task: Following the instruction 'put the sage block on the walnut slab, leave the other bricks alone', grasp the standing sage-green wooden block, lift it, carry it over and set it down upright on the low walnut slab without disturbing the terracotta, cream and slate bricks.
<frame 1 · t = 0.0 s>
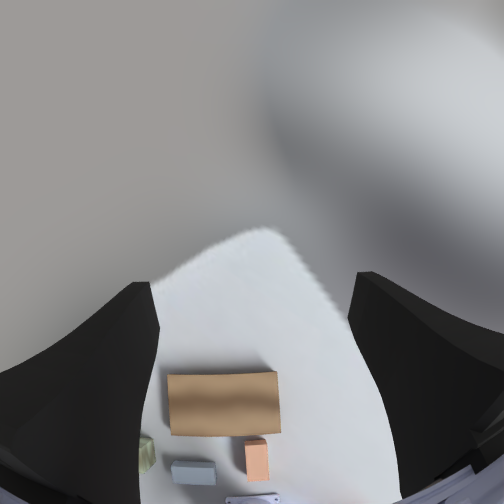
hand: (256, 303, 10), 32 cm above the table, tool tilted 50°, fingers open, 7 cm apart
sage block: (142, 448, 32), on the table
walnut slab: (224, 403, 36), on the table
slate brick: (195, 469, 32), on the table
terracotta brick: (256, 457, 33), on the table
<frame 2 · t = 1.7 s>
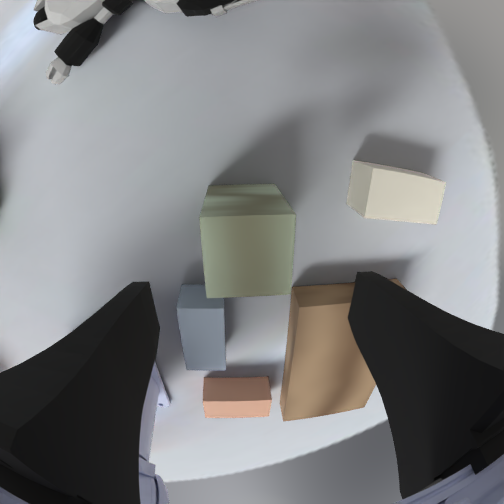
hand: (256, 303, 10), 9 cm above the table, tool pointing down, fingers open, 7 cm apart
sage block: (242, 215, 18), on the table
walnut slab: (333, 351, 24), on the table
slate brick: (205, 316, 21), on the table
cream brick: (385, 186, 18), on the table
terracotta brick: (235, 385, 25), on the table
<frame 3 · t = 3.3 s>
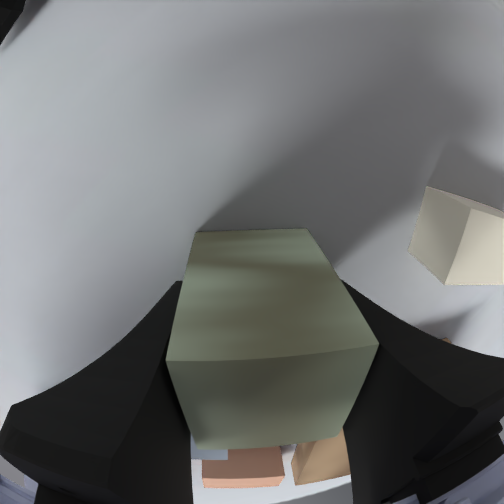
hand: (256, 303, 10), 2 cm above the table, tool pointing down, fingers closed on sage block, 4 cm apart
sage block: (252, 278, 11), on the table, touching gripper
walnut slab: (359, 418, 17), on the table
slate brick: (199, 396, 15), on the table
cream brick: (457, 226, 11), on the table
terracotta brick: (240, 452, 19), on the table
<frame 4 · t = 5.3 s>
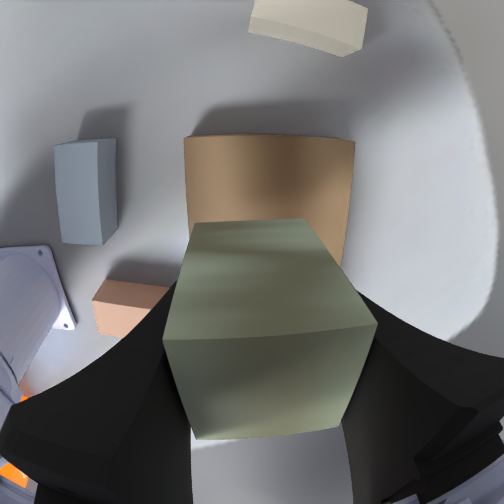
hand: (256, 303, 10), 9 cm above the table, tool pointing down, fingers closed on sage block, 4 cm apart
sage block: (250, 269, 11), point 7 cm above the table, touching gripper
walnut slab: (264, 249, 19), on the table
orange juice: (23, 404, 28), on the table
slate brick: (97, 183, 16), on the table
cream brick: (300, 24, 13), on the table
terracotta brick: (143, 299, 20), on the table
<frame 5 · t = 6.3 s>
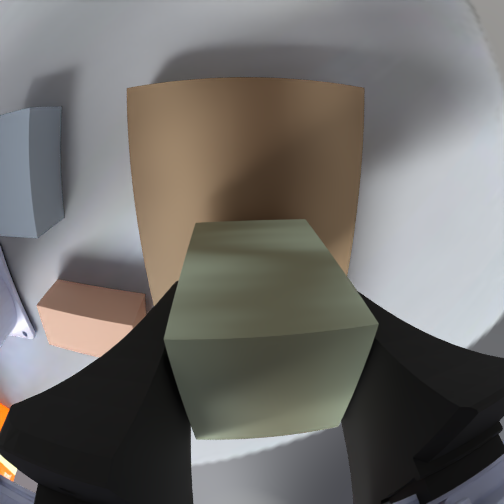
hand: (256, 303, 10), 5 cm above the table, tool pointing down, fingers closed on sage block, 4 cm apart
sage block: (251, 269, 11), point 3 cm above the table, touching gripper
walnut slab: (246, 240, 14), on the table
orange juice: (4, 413, 23), on the table
slate brick: (41, 164, 11), on the table
terracotta brick: (102, 304, 16), on the table
when the fingers open (5 cm above the table, at t = 7.1 s): sage block stays where it is, resting on walnut slab.
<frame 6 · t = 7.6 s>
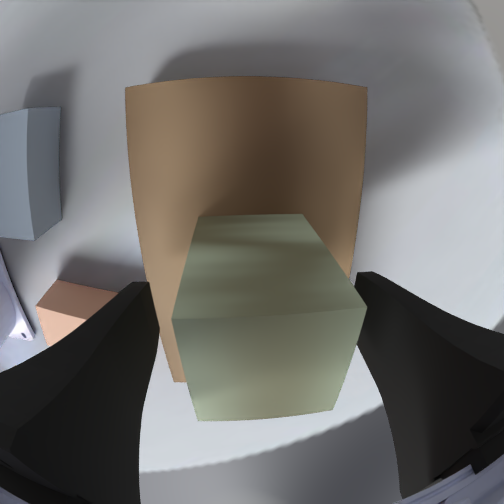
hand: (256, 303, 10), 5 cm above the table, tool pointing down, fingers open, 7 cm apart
sage block: (251, 261, 12), point 2 cm above the table, touching walnut slab
walnut slab: (246, 242, 14), on the table
slate brick: (40, 164, 11), on the table
terracotta brick: (101, 306, 15), on the table
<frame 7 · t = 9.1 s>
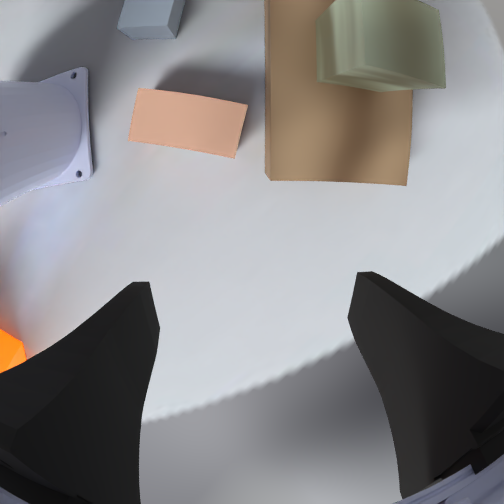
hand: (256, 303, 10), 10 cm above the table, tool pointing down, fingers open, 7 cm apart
sage block: (349, 55, 12), point 2 cm above the table, touching walnut slab
walnut slab: (334, 65, 15), on the table
orange juice: (6, 350, 24), on the table
slate brick: (163, 2, 12), on the table
terracotta brick: (192, 121, 16), on the table
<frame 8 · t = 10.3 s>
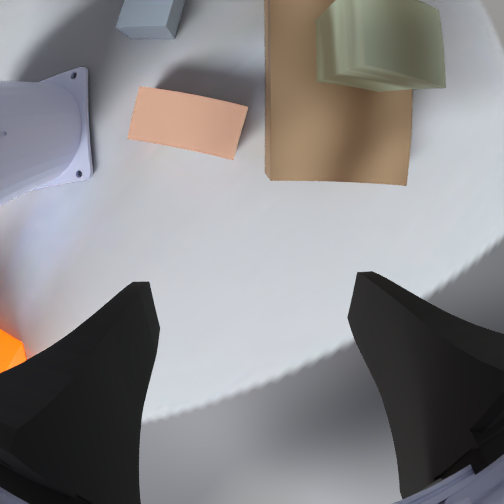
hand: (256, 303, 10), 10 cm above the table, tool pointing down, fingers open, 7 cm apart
sage block: (349, 55, 12), point 2 cm above the table, touching walnut slab
walnut slab: (334, 65, 15), on the table
orange juice: (7, 350, 24), on the table
slate brick: (163, 2, 12), on the table
terracotta brick: (192, 121, 16), on the table
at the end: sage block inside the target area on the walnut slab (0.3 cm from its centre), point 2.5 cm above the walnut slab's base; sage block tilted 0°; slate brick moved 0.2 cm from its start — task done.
